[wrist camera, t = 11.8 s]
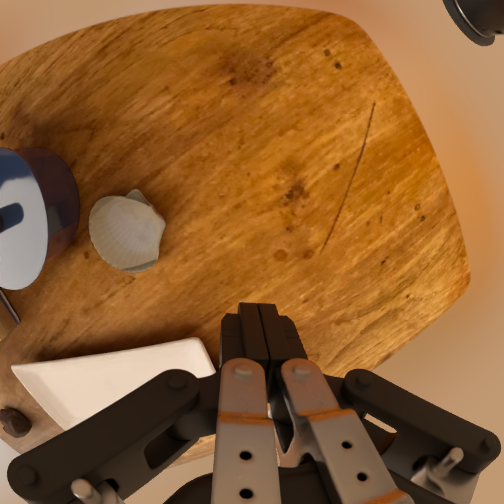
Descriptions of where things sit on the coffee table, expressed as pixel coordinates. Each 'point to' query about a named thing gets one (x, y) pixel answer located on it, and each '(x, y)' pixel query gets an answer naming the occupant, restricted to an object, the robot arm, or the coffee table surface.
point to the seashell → (126, 231)
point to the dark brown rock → (14, 423)
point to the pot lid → (21, 222)
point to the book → (6, 317)
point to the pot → (56, 197)
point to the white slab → (105, 377)
